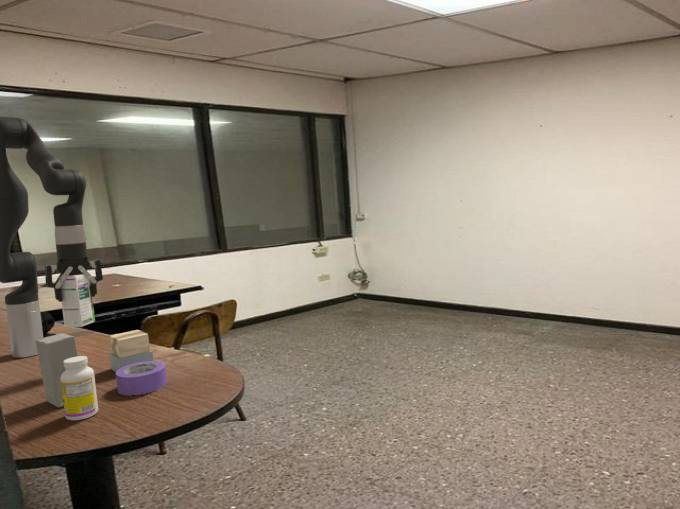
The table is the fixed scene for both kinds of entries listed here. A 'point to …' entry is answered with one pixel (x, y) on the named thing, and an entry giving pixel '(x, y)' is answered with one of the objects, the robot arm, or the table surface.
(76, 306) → the syrup box
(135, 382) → the tape roll
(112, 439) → the table surface
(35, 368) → the table surface
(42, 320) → the webcam
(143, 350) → the maple block
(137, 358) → the slate slab
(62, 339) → the skincare box
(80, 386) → the supplement bottle
